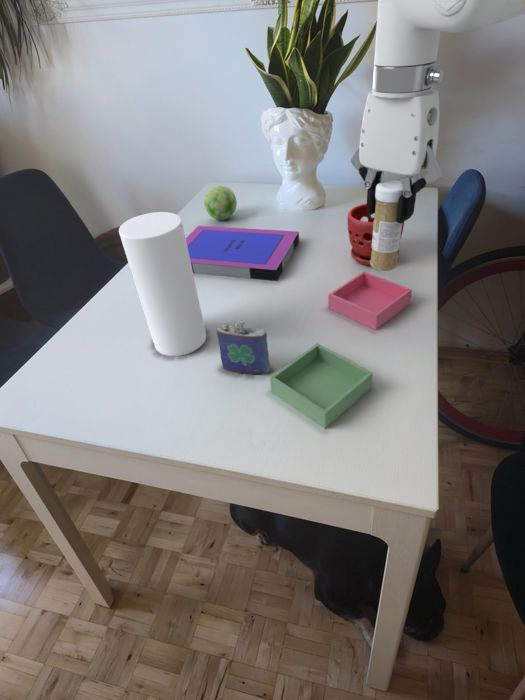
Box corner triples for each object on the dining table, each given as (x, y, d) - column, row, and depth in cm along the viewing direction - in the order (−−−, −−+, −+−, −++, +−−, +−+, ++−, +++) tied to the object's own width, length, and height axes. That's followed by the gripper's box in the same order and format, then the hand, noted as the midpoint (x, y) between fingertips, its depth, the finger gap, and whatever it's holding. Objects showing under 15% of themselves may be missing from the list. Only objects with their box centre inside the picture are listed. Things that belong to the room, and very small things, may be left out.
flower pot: (395, 244, 113) (401, 199, 106) (403, 269, 103) (409, 221, 96) (344, 246, 115) (346, 201, 108) (347, 271, 105) (349, 224, 98)
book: (198, 225, 126) (298, 231, 118) (200, 235, 128) (299, 241, 119) (164, 260, 111) (276, 270, 103) (166, 270, 113) (276, 281, 104)
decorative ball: (229, 226, 131) (224, 193, 125) (201, 223, 135) (195, 191, 129) (244, 213, 138) (240, 181, 131) (217, 210, 142) (212, 179, 135)
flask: (271, 366, 81) (266, 319, 74) (267, 377, 79) (262, 330, 72) (225, 360, 83) (216, 315, 77) (220, 371, 81) (210, 325, 74)
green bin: (371, 387, 75) (373, 372, 72) (325, 428, 69) (325, 413, 66) (317, 357, 82) (317, 342, 80) (271, 391, 76) (269, 377, 74)
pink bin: (409, 303, 93) (412, 289, 90) (375, 330, 87) (377, 315, 84) (362, 284, 100) (363, 271, 98) (328, 308, 94) (328, 294, 92)
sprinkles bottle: (371, 257, 75) (378, 178, 67) (398, 259, 74) (409, 179, 65) (367, 270, 72) (374, 189, 63) (396, 273, 71) (407, 190, 62)
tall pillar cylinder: (216, 330, 91) (193, 215, 75) (186, 361, 84) (154, 242, 68) (175, 319, 96) (146, 208, 80) (143, 348, 89) (105, 233, 73)
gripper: (481, 77, 53) (452, 220, 64) (365, 72, 63) (358, 197, 74) (450, 89, 49) (425, 239, 61) (332, 81, 59) (330, 211, 71)
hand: (388, 214), depth 67 cm, fingers closed on sprinkles bottle, 4 cm apart
